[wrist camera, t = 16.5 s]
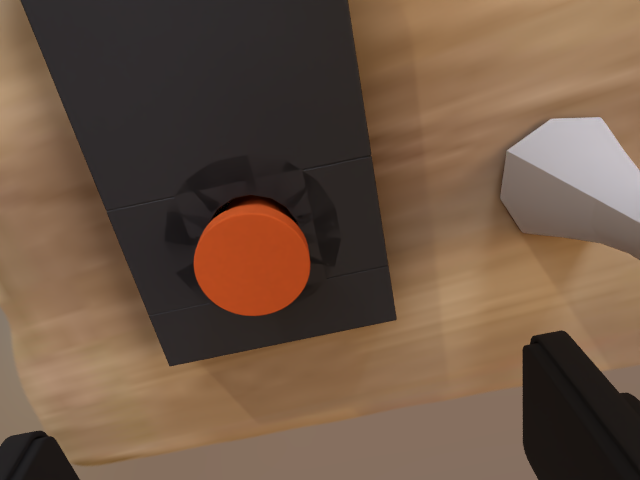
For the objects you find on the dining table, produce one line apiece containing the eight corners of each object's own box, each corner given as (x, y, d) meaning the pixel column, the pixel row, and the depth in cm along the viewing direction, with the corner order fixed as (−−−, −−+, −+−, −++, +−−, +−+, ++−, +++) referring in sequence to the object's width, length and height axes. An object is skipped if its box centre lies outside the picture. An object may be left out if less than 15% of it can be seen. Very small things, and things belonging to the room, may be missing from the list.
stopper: (197, 188, 27) (177, 227, 22) (294, 168, 27) (297, 202, 22) (224, 273, 30) (212, 326, 25) (313, 255, 30) (320, 304, 24)
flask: (508, 247, 30) (605, 343, 21) (486, 140, 28) (587, 197, 18) (622, 209, 30) (771, 290, 21) (612, 95, 27) (780, 131, 18)
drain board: (9, -90, 22) (-23, -104, 19) (316, -158, 21) (320, -179, 19) (177, 342, 32) (169, 367, 29) (388, 298, 31) (396, 320, 29)
